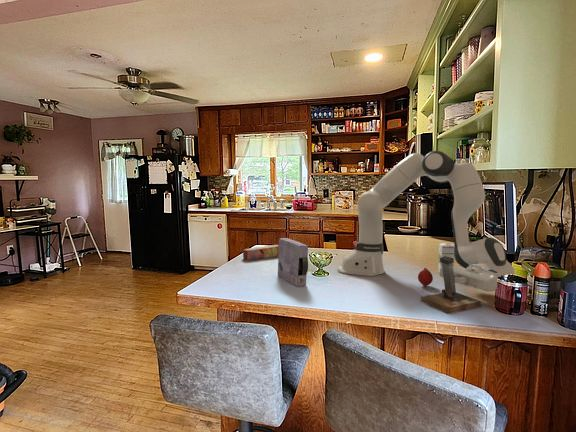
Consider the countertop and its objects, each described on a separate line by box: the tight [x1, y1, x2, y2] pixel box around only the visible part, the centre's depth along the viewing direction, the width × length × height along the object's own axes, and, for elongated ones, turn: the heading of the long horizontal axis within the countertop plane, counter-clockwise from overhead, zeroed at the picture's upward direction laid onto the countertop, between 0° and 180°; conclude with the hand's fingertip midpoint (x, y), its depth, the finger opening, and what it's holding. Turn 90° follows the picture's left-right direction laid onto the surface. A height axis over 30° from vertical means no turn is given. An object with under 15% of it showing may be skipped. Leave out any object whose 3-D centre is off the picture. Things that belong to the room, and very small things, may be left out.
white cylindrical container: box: [437, 242, 455, 275], centre depth 158 cm, size 6×6×14 cm
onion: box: [417, 267, 434, 287], centre depth 141 cm, size 6×6×8 cm
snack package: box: [242, 244, 279, 261], centre depth 190 cm, size 21×7×7 cm, turn 121°
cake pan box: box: [277, 237, 309, 288], centre depth 147 cm, size 19×5×18 cm, turn 29°
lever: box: [440, 256, 457, 299], centre depth 119 cm, size 2×4×15 cm, turn 23°
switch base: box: [420, 288, 482, 315], centre depth 121 cm, size 16×12×5 cm
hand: (451, 279), depth 120 cm, fingers closed, pressing on lever
